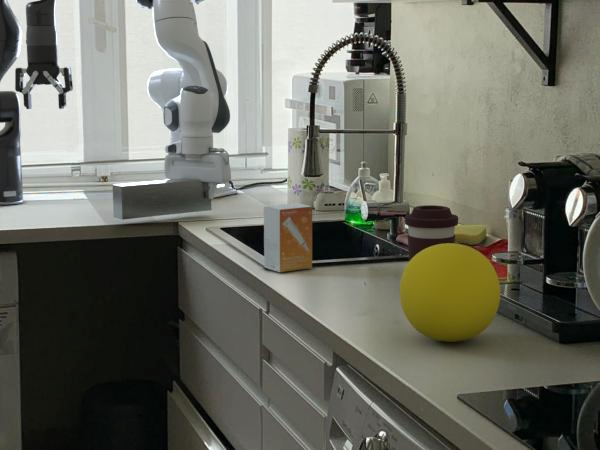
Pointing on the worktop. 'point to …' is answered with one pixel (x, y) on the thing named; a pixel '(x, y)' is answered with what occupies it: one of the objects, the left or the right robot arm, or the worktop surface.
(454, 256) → the toy
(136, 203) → the bar
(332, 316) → the worktop surface
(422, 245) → the coffee cup
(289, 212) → the small box
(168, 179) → the right robot arm
